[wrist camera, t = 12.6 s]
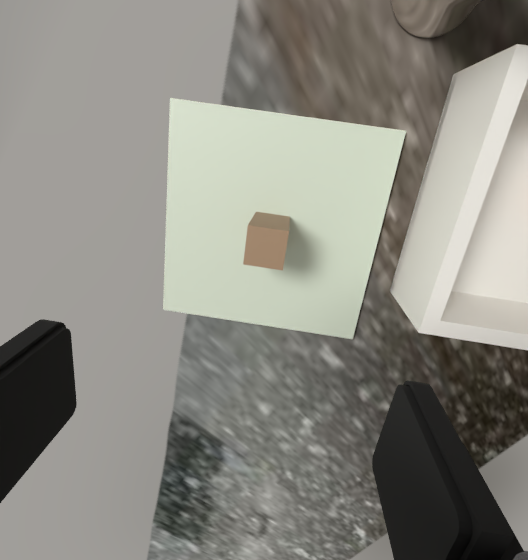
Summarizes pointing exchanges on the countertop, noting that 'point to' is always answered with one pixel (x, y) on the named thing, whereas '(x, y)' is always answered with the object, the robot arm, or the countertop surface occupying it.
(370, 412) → the countertop surface
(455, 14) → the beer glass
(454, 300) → the box
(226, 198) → the lid
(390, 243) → the countertop surface
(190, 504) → the countertop surface
